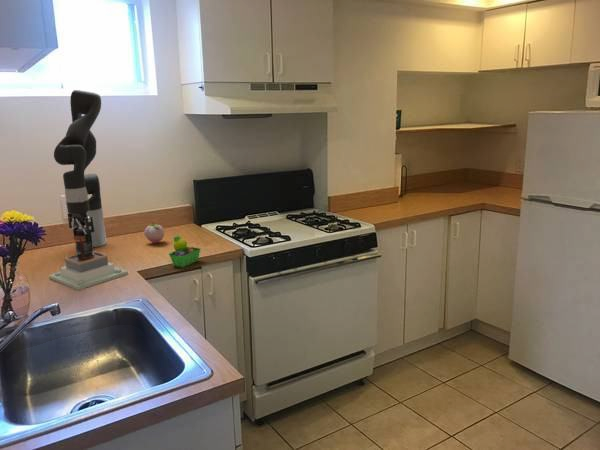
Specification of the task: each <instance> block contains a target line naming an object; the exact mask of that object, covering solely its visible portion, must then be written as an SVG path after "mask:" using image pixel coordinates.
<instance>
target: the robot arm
mask: <svg viewBox="0 0 600 450" xmlns="http://www.w3.org/2000/svg"><path fill="white" fill-rule="evenodd" d="M69 102H70V113H71V122H72V123H70V124H69V126H68V129H67V130H66V133H65V136H64V137H63V138H62V139H61V140H60V141H59V142H58V143H57V145H56V146H55V149H54V151H53V158H54V160H55V162H56V164H59V165H61V166H72V165H73V170H68V171H65V172H64V173H63V174H62V175H63V176H62V177H63V184H64V185H63V186H64V196H65V203H66V204H65V205H66V209H67V220H68V228H69V229H71V231H72V233H73V234H72V235H73V239H74V241H75V236H76V235H77V234H76V230H77V229H82V230H83V231H84V233H85V241H86V244H90V243H92V244H93V248H94V247H95V248H96V247H102V246H105V245H107V244H108V241H107V236H106V235H107V234H106V227H105V226H106V225H105V220H104V213H103V212H104V211H103V205H102V198H101V185H100V179H99V176H98V175H97V174H96V173H87V174H86V173H85V171H86V169H87V168H88V166H89V165H90V164H91V163H92V161H93V160H94V159H95V157H96V155H97V139H96V137H95V135H94V133H93V132H92V131H91V129H92V127H93V125H94V124H95V122H96V120H97V118H98V116H99V115H100V112H101V109H102V98H101V95H100V94H98V93H96V92H93V91H92V92H91V91H87V90H79V89H74V90H72V92H71V93H70V101H69ZM88 195H91V196H90V198H89V196H88Z"/></svg>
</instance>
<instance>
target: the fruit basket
mask: <svg viewBox="0 0 600 450" xmlns="http://www.w3.org/2000/svg"><path fill="white" fill-rule="evenodd" d="M172 245H173V249H174V250H175V251H172V252H170V253H168V256H169V257H170V260H171V262H172V265H173V266H176V267H180V268H184V267H187V266H189V265H191V264H194V263H195V262H198V261H199V257H200V253H201V248H200V247H193V246H187V245H188V242H187V240H185V239H184V238H183V237H181V236H180V235H175V236H174V237H173V243H172Z"/></svg>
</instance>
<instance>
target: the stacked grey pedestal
mask: <svg viewBox="0 0 600 450" xmlns="http://www.w3.org/2000/svg"><path fill="white" fill-rule="evenodd" d="M108 258H109V257H108V255H107V254H105V253H102V252H99V251H96V250H94V257H93V258H91V259H87V260H79V259H78V257H77V253H76V254H73V255H70V256H66V257H64V262H65V265H64V266H62V267H60V271H56V272H54V273H52V274H49V275H48V277H49V279H50V280H53V281H55V282H57V283H60V284H62V285H64V286H67V287H69V288H72V289H74V290H77V291H81V290H84V289H87V288H89V287H92V286H96V285H99V284H101V283H105V282H108V281H112V280H114V279H117V278H120V277H123V276H127V275H129V271H128V270H126V269H123V268H119V267H116V266H115V263H113V262H109V259H108Z"/></svg>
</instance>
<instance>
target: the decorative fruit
mask: <svg viewBox="0 0 600 450" xmlns="http://www.w3.org/2000/svg"><path fill="white" fill-rule="evenodd" d="M165 234H166V233H165V229H164V228H163V226H162V225H160V224H155V223H154V222H152V224H151V223H150V224H148V225H147V227H145V229H144V236H145V238H146V239H147V240H148V241H149V242H151V243H153V244H158V243H159V242H161V241H162V240H163V238H164V236H165Z"/></svg>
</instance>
